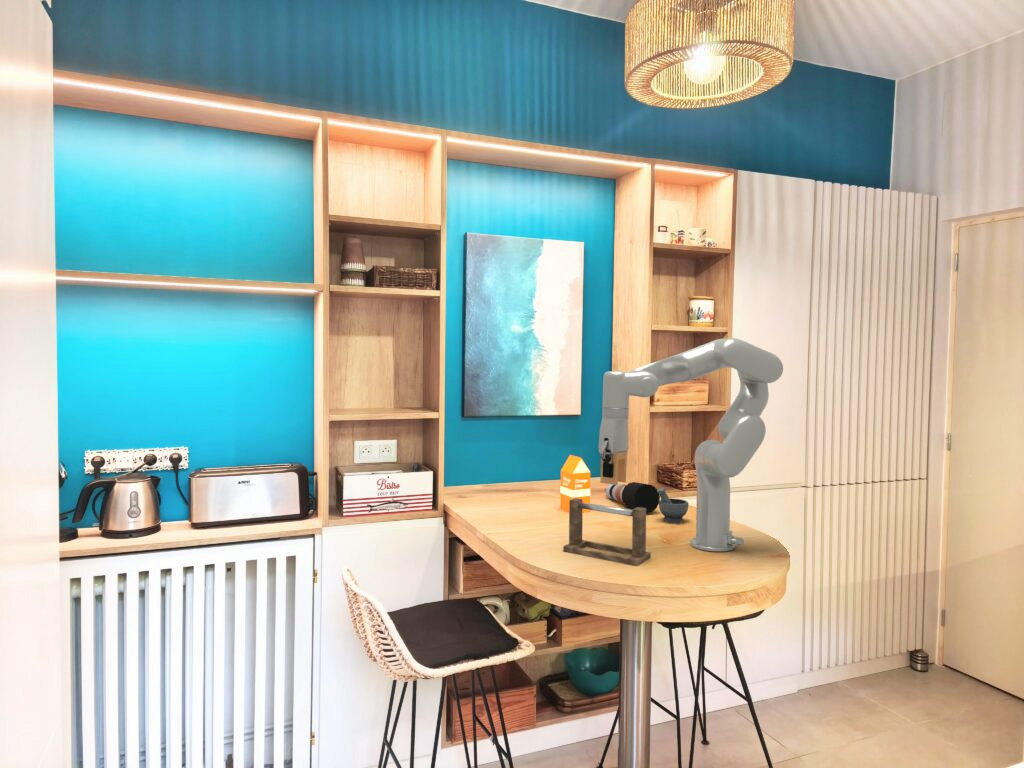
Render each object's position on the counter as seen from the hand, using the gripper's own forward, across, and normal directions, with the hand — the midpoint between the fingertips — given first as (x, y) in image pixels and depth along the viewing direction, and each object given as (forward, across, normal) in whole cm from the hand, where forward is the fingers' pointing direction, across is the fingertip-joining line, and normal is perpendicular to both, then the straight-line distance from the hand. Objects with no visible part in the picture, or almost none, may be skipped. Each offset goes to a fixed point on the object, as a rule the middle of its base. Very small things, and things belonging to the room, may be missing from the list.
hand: (613, 475), depth 190 cm
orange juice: (+22, -36, -34) cm, 55 cm away
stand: (+22, +5, +1) cm, 23 cm away
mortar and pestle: (+22, -42, 0) cm, 48 cm away
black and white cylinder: (+22, -56, -24) cm, 65 cm away
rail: (+10, +5, +1) cm, 11 cm away
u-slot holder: (+2, 0, 0) cm, 2 cm away
